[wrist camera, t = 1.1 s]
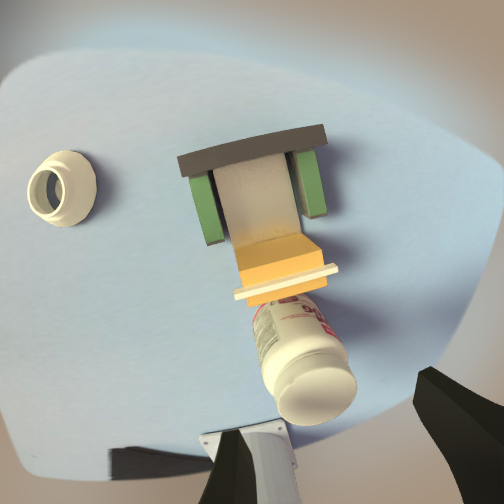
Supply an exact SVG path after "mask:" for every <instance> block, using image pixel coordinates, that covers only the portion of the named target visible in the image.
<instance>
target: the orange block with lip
mask: <svg viewBox="0 0 504 504" xmlns="http://www.w3.org/2000/svg"><path fill="white" fill-rule="evenodd" d="M235 252H236V258H237V263H238V269H239V274H240V277H241V281H242V285H243V288H239V289H235V290H233V291H234V297H235V300H239V299H243V298H246V299H247V303H248V306H249V307H253V306H256V305H260V304H264V303H268V302H272V301H275V300H279V299H283V298H286V297H290V296H293V295H297V294H300V293H304V292H307V291H311V290H314V289H318V288H321V287H325V286H327V279H326V275H330V274H333V273H337V272H338V266H336V265H335V264H334V263H331V264H327V265H324V261H323V255H322V249H320V248H319V247H318V246H317V245H315V244H314V243H313V242H312V241H311V240H309V239H308V238H307V237H306V236H305V235H303V234H302V233H298V234H294V235H290V236H286V237H283V238H279V239H275V240H271V241H267V242H263V243H259V244H256V245H252V246H248V247H244V248H240V249H236V250H235Z"/></svg>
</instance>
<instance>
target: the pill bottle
mask: <svg viewBox="0 0 504 504" xmlns="http://www.w3.org/2000/svg"><path fill="white" fill-rule="evenodd" d="M253 332H254V338H255V343H256V348H257V352H258V358H259V362H260V367H261V372H262V376H263V380H264V383H265V385H266V387H267V389H268V391H269V392H270V393H271V394H272V395H273V396H274V397H275V401H276V404H277V408H278V411H279V413H280V415H281V416H282V417H283V418H284V419H285V420H286V421H288V422H290V423H292V424H295V425H301V426H313V425H318V424H322V423H325V422H327V421H330V420H332V419H334V418H335V417H337V416H339V415H340V414H341V413H343V412H344V411H345V410H346V409H347V408H348V407H349V406H350V404H351V403H352V401H353V400H354V398H355V395H356V392H357V383H356V380H355V377H354V375H353V374H352V372H351V370H350V368H349V366H348V356H347V352H346V350H345V347H344V346H343V344H342V343H341V341H340V340H339V338H338V337H337V335H336V334H335V332H334V331H333V329H332V328H331V326H330V325H329V324H328V322H327V320H326V319H325V318H324V316H323V315H322V313H321V312H320V310H319V309H318V307H317V305H316V304H315V303H314V301H313V300H312V299H311V298H309V297H308V296H306V295H305V294H303V293H300V294H297V295H293V296H290V297H286V298H283V299H279V300H275V301H272V302H268V303H264V304H260V306H259V307H258V309H257V310H256V312H255V314H254V318H253Z"/></svg>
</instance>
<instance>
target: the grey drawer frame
mask: <svg viewBox="0 0 504 504" xmlns="http://www.w3.org/2000/svg"><path fill="white" fill-rule="evenodd" d="M324 144H328V143H327V138H326V134H325V130H324V126H323V124H319V125H313V126H307V127H301V128H295V129H290V130H285V131H279V132H274V133H269V134H265V135H260V136H255V137H251V138H246V139H242V140H238V141H234V142H229V143H225V144H221V145H217V146H214V147H210V148H206V149H202V150H199V151H195V152H191V153H188V154H185V155H181V156H178V157H177V159H178V163H179V167H180V171H181V175H182V177H189V184H190V187H191V191H192V195H193V199H194V202H195V206H196V210H197V213H198V217H199V220H200V224H201V227H202V231H203V234H204V238H205V241H206V243H207V246H210V245H213V244H217V243H221V242H225V235H224V230H223V227H222V223H221V219H220V215H219V212H218V208H217V204H216V200H215V197H214V193H213V189H212V185H211V181H210V177H209V173H208V171H211V170H213V173H214V177H215V181H216V185H217V189H218V193H219V197H220V200H221V204H222V208H223V212H224V216H225V220H226V223H227V227H228V231H229V235H230V238H231V242H232V246H233V249H234V253H235V257H236V252H235V250H236V249H240V248H244V247H248V246H252V245H256V244H259V243H263V242H267V241H271V240H275V239H279V238H283V237H286V236H290V235H294V234H298V233H302V232H301V227H300V222H299V217H298V212H297V208H296V203H295V198H294V194H293V189H292V185H291V180H290V176H289V172H288V167H287V163H286V159H285V155H284V153H287V152H288V155H289V160H290V164H291V168H292V173H293V177H294V181H295V186H296V190H297V195H298V200H299V204H300V209H301V214H302V215H304V216H305V217H307V218H309V219H314V218H318V217H323V216H327V214H326V213H327V208H326V203H325V198H324V193H323V188H322V183H321V178H320V173H319V169H318V164H317V160H316V155H315V151H313V147H315V146H320V145H324ZM236 261H237V258H236ZM237 264H238V263H237Z"/></svg>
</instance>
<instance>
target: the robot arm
mask: <svg viewBox="0 0 504 504" xmlns="http://www.w3.org/2000/svg"><path fill="white" fill-rule="evenodd" d="M413 405H414V407H415V409H416V411H417V413H418V416H419V417H420V419H421V422H422V423H423V425H424V426H425V428H426V429H427V431H428V433H429V434H430V436H431V437H432V439H433V440H434V442H435V443H436V445H437V446H438V448H439V449H440V451H441V452H442V454H443V456H444V457H445V459H446V461H447V462H448V464H449V466H450V469H451V471H452V473H453V475H454V478H455V480H456V483H457V485H458V488H459V491H460V493H461V496H462V499H463V503H464V504H504V406H501V405H498V404H496V403H494V402H492V401H490V400H488V399H486V398H484V397H481V396H480V395H478V394H476V393H474V392H472V391H471V390H469V389H467V388H465V387H463V386H462V385H460V384H459V383H457V382H456V381H454V380H452V379H451V378H449V377H447V376H446V375H444V374H443V373H441V372H439V371H438V370H436V369H435V368H433V367H431V366H430V367H428V368H426V369H424V370H422V371H419V372H418V378H417V383H416V389H415V394H414V399H413ZM199 441H200V443H201V444H202V446H203V447H204V449H205V450H206V452H207V453H208V455H209V456H210V458H211V459H212V461H213V462H214V464H213V467H212V470H211V473H210V476H209V479H208V482H207V485H206V487H205V489H204V492H203V494H202V497H201V499H200V501H199V503H198V504H302V501H301V497H300V494H299V490H298V486H297V482H296V478H295V474H294V469H297V467H298V465H297V462H296V459H295V455H294V452H293V448H292V445H291V442H290V438H289V435H288V431H287V428H286V424H285V421H284V420H281V419H279V420H275V421H271V422H266V423H262V424H258V425H253V426H248V427H244V428H239V429H233V430H228V431H222V432H216V433H210V434H203V435H200V436H199Z"/></svg>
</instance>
